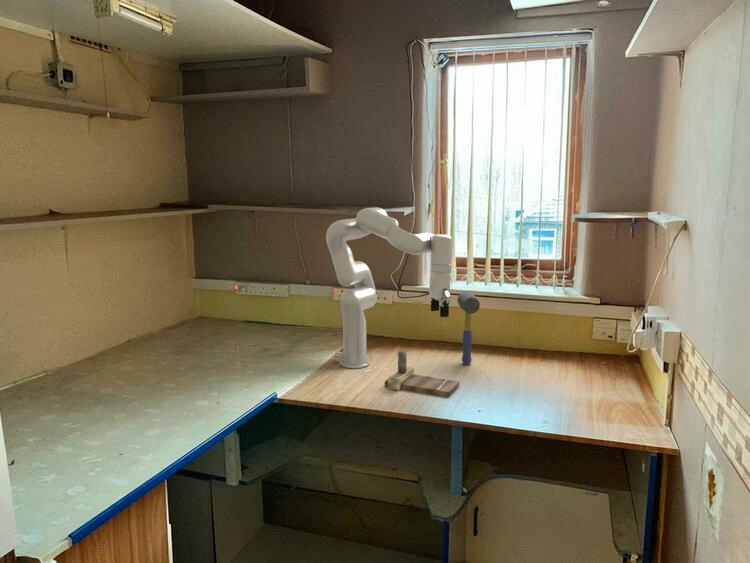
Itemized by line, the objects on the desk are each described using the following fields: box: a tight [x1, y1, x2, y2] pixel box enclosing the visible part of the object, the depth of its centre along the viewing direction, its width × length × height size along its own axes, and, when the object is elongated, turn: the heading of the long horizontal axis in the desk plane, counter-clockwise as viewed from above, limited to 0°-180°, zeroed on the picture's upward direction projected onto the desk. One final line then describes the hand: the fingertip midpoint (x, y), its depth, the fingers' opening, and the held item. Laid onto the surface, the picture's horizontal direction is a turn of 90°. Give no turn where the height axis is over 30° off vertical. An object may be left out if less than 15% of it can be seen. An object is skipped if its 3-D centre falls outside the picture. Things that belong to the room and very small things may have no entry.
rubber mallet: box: [457, 291, 481, 365], centre depth 236 cm, size 12×8×30 cm, turn 4°
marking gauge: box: [388, 350, 415, 391], centre depth 215 cm, size 4×15×12 cm, turn 155°
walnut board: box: [384, 373, 460, 398], centre depth 213 cm, size 25×12×2 cm, turn 65°
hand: (439, 313), depth 214 cm, fingers open, 9 cm apart
